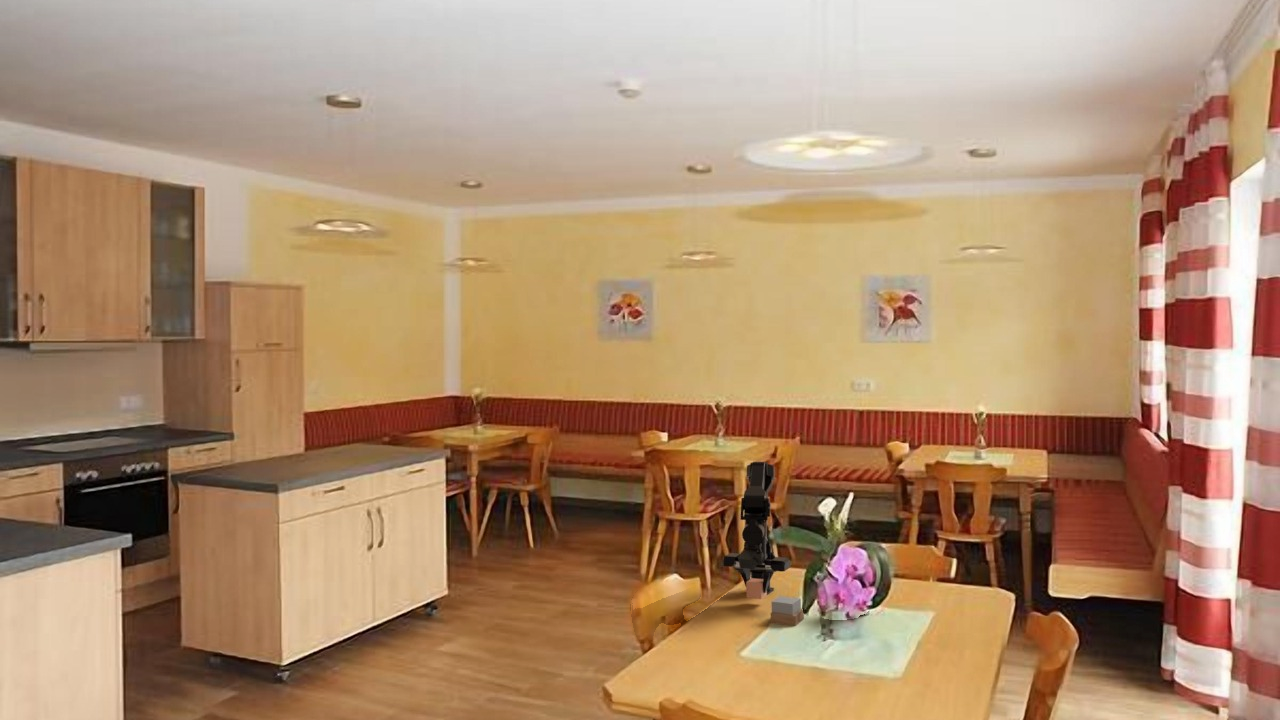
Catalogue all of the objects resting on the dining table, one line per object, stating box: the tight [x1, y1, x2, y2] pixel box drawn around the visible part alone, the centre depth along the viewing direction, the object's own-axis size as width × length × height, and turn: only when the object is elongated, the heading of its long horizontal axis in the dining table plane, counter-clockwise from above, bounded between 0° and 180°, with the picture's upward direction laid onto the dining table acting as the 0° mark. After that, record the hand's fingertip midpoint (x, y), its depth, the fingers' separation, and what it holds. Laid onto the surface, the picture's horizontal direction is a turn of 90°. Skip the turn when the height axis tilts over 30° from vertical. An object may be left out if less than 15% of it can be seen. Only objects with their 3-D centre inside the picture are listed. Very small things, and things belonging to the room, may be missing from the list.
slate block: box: [771, 595, 802, 615], centre depth 265 cm, size 6×6×3 cm
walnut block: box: [770, 608, 805, 627], centre depth 265 cm, size 7×7×3 cm
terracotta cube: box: [745, 577, 768, 600], centre depth 281 cm, size 4×4×4 cm
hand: (756, 591), depth 281 cm, fingers closed on terracotta cube, 4 cm apart
